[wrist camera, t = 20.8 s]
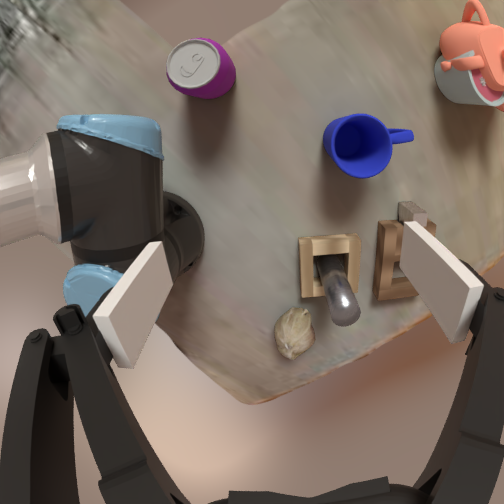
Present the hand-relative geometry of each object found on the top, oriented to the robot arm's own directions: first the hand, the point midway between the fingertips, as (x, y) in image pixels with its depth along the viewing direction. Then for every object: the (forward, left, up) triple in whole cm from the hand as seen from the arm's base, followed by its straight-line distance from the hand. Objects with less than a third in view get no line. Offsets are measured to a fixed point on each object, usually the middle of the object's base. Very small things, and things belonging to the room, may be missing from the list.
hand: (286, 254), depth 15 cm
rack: (+8, -18, -32) cm, 37 cm away
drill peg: (+8, -18, -32) cm, 37 cm away
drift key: (+22, -12, -32) cm, 40 cm away
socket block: (+22, -18, -32) cm, 43 cm away
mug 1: (+13, +3, -32) cm, 35 cm away
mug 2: (+35, +15, -32) cm, 50 cm away
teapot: (+37, +18, -32) cm, 52 cm away
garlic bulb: (+2, -30, -32) cm, 44 cm away
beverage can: (-8, +14, -32) cm, 36 cm away
